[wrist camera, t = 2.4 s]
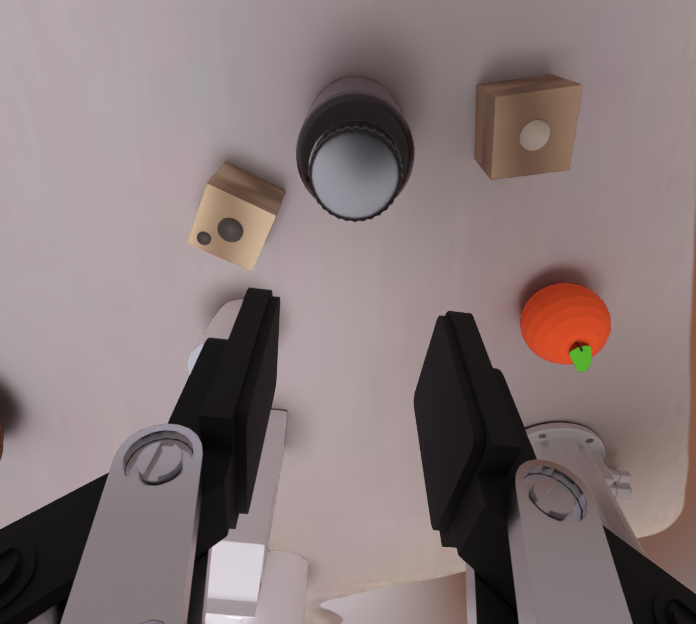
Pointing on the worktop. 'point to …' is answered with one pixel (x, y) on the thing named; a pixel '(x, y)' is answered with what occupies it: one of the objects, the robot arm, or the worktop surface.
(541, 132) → the walnut block
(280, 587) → the bracket
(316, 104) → the supplement bottle
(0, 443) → the butternut squash
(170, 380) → the worktop surface
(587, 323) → the clementine
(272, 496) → the milk carton
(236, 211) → the oak block
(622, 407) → the worktop surface
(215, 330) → the white cylinder with rim
